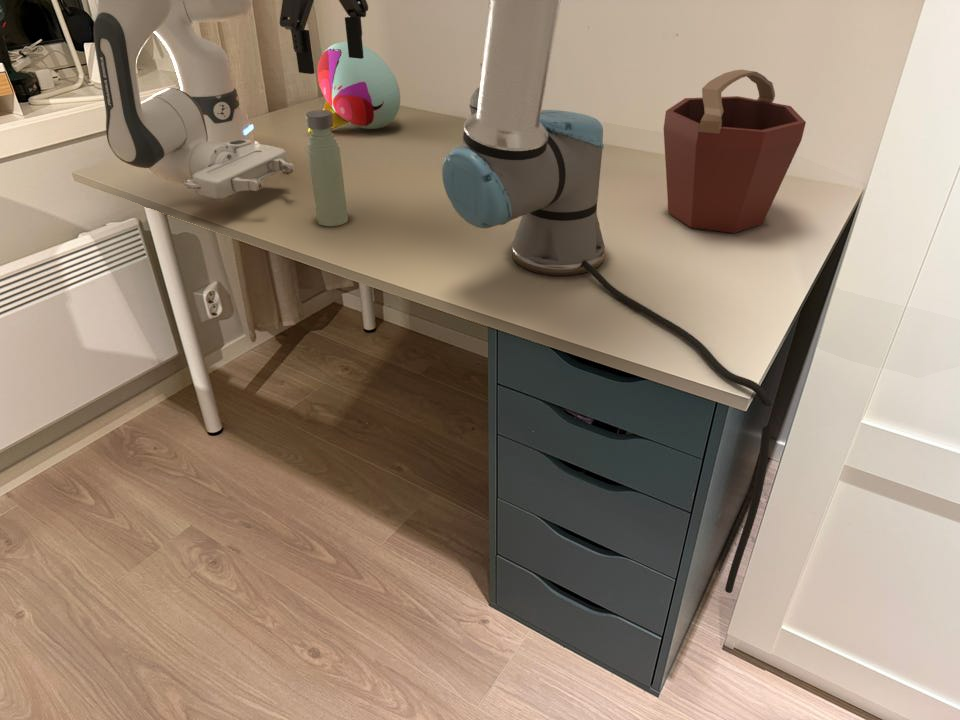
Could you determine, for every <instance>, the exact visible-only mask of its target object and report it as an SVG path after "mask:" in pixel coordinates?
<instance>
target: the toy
mask: <svg viewBox="0 0 960 720" xmlns="http://www.w3.org/2000/svg"><path fill="white" fill-rule="evenodd" d="M363 56H364V58H362V59H359V58H349V53H348V44H347V41H341V42H337V43H336V42H335V43H334V44H332V45H330V46H329V47H327V48H326V49H325V50H324V51H323V52H322V54H321V56H320V58H319V61H318V64H317V81H318V85H319V88H320V91H321V93H322V95H323V97H324V99H325V102H324V108H323V109H322V110H327V111H331V112H332V118H333V126H332V127H330V130H333V129H336V128H339V127H342V126H345V125H347V124H351V125H353V126H356V127H358V128H361V129H366V130H378V129H382V128H384V127H386V126H388V125H390V124H391V123H392V122H393V121H394V120H395V118H396V117H397V115H398V113H399V111H400V107H401V91H400V86H399V84H398V80H397V78H396V76H395V74H394V72H393V71H392V69H391V67H390V66H389V65H388V64H387V62H386V61H385V60H384V59H383V58H382V57H381V56H380V55H379V54H378V53H376V52H375V51H374V50H372V49H370V48H369V47H367V46H365V45H363ZM307 132H308V134H311V133H312V132H311V129H310V128H308V129H307Z"/></svg>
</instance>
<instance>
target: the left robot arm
mask: <svg viewBox="0 0 960 720" xmlns="http://www.w3.org/2000/svg"><path fill="white" fill-rule="evenodd" d="M97 1H98V3H97V4H98V5H97V13H96V17H95V20H94V23H93V28H92V29H93V33H92V34H93V42H94V49H95V56H96V62H97V67H98V68H97V69H98V73H99V79H100V84H101V85H100V86H101V90H102V96H103V101H104V102H103V103H104V108H105V116H106V117H105V133H106V141H107V143H108V145H109V148H110V150H111V151H112V152H113V154H114V155H115V156H116V158H118V159H119V160H120V161H121V162H123V163H125V164H127V165H130V166H133V167H136V168H141V169H149V170H150V171H151V172H152V173H153V174H154V175H156V176H158V177H160V178H161V179H164V180H167V181H169V182H173V183H176V184H180V185H184V187H185V188H186V189H191V190H195V192H196V193H197V194H199V195H201V196H203V197H207V198H210V199H214V200H223V199H226V198H228V197H230V196H232V195H235V194H237V193H238V192H247V191H254V192H258V191H259V190H261V189H262V188H263V185H262V181H264V180H265V179H268V178H269V177H271V176H274V175H276V174H277V173H279V172H282V175H287V176H289V175H291V174H294V173H295V168H294V163H290V162H288V161H289V160H288V155H287V152H286V151H285V149H284V148H282V147H278V146H273V145H268V144H264V143H263V144H262V143H260V142H259V141H256V140H255V139H254V136H253V132H252V131H253V130H254V124H250V120H249V116H248V114H247V113H246V111H244V110H243V109H242V108H240V101H239V94H238V90H237V88H235V86H234V81H233V76H232V71H231V65H230V61H229V56H228V55H227V53H226V51H225V50H224V48H222V47H221V45H219V44H218V43H215V42H214V41H211V40H209V39H207V38H204V37H202V36H200V34H199V33H197V31H196V30H195V28H194V27H193V24H196V23H197V24H198V23H224V22H229V21H233V20H237V19H242V18H245V17H246V16H247V15H248V13H250V10H251V8H252V6H253V0H97ZM153 34H155V35H156V36H157V38H158V39H159V40H160V41H161V42H162V44H163V45H164V47H165V49H166V50H167V51H168V53H169V55H170V58H171V60H172V63H173V66H174V69H175V72H176V76H177V78H178V83H179V87H180V89H179V88H176V87H168V88H165V89H164V90H161V91H159V92H157V93H154V94H153V95H152V96H150V97H147V99H145V100H143V101H141V94H140V87H139V83H138V82H139V81H138V75H137V64H138V63H137V62H138V58H139V56H140V53H141V51H142V49H143V48H144V46H145V45H146V43H147V42H148V40H149V39H150V38H151V37H152V35H153Z"/></svg>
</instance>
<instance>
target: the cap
mask: <svg viewBox="0 0 960 720" xmlns="http://www.w3.org/2000/svg"><path fill="white" fill-rule="evenodd" d="M305 120H306V127H307V129H309V128H310V129H327V128H330V127H332V126H333V118H332V112H331V111H327V110H323V109H318V110H317V109H316V110H310V111H308V112H306V113H305Z"/></svg>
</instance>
